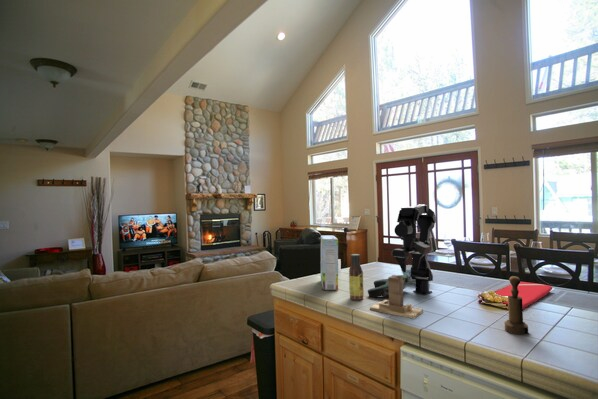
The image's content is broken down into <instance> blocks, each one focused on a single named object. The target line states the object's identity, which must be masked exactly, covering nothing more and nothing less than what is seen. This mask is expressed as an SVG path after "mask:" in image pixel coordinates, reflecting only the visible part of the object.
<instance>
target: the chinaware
mask: <svg viewBox="0 0 598 399" xmlns="http://www.w3.org/2000/svg"><path fill="white" fill-rule="evenodd" d="M411 267H412V264H406V272H405V273H404V272H403V271H402V269H401V268H400V270H401V273H402V275H408V276H411ZM415 280H416V279H412V277H410V279H409V281H411V282H412V281H415ZM411 282H410V283H411ZM415 283H416V282H412V283H411V284H415Z"/></svg>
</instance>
